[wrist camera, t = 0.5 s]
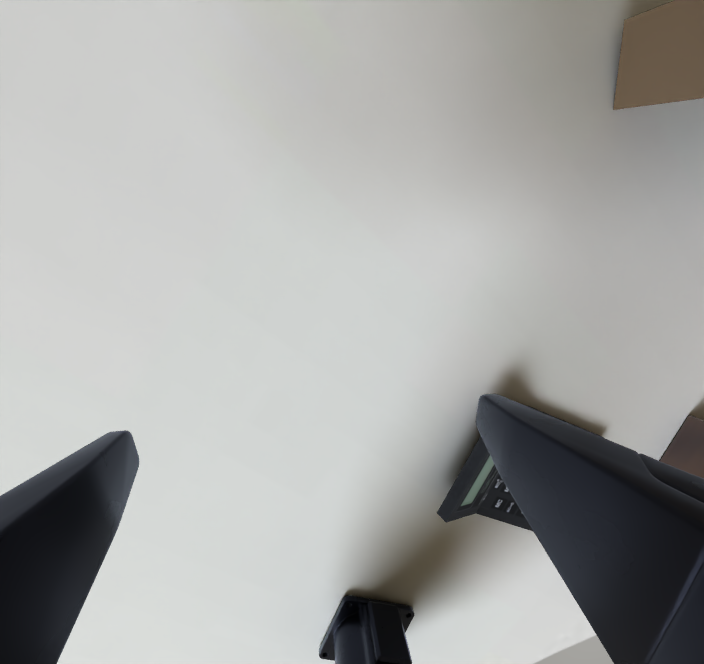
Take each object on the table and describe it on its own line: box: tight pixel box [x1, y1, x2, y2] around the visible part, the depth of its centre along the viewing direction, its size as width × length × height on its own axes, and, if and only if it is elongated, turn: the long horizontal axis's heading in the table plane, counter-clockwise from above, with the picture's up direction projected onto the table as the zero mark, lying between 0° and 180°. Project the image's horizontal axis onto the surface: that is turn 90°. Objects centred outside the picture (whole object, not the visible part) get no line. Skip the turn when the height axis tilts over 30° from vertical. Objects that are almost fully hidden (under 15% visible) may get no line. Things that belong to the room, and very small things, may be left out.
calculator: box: [437, 406, 605, 531], centre depth 26 cm, size 9×12×3 cm
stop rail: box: [660, 415, 704, 478], centre depth 28 cm, size 17×2×4 cm, turn 159°
